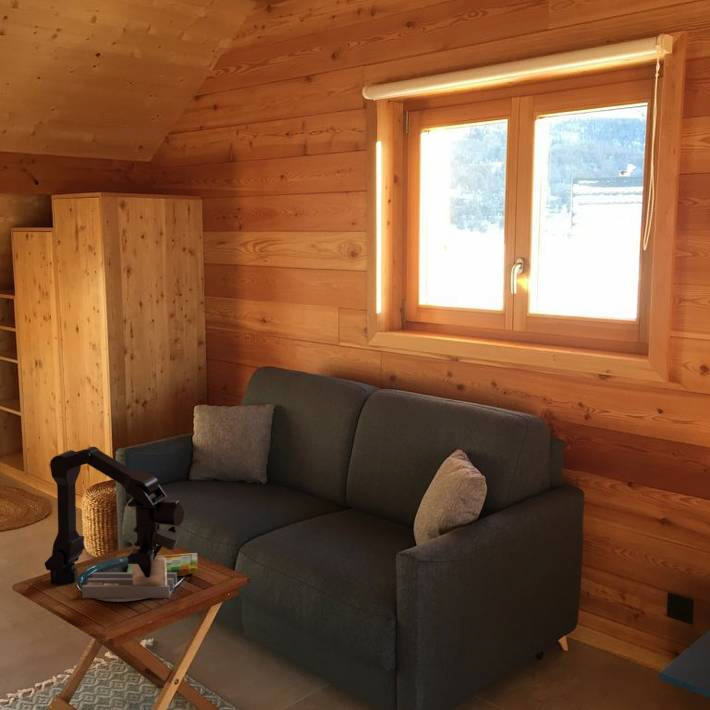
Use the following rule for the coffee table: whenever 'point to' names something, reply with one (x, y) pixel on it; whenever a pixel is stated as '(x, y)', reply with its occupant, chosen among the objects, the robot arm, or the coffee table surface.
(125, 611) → the coffee table surface
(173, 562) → the puzzle game
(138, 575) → the beige square panel
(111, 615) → the coffee table surface
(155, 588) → the rack
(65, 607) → the coffee table surface
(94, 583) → the offcut dark
